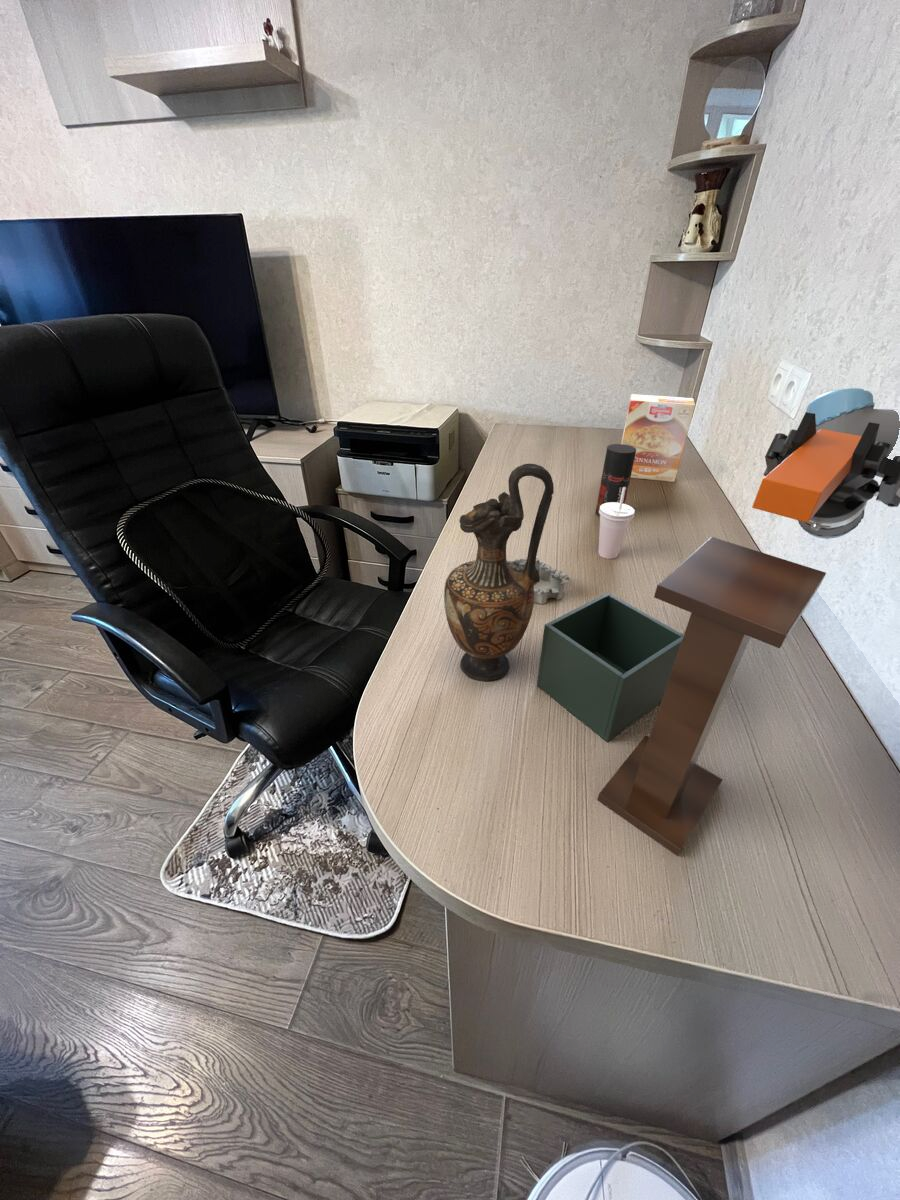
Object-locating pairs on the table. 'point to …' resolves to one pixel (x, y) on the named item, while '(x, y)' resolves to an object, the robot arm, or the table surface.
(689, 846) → the table surface
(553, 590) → the egg carton
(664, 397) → the coffeecake box
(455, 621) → the vase
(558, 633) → the trash bin
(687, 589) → the stand
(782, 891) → the table surface
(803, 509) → the block
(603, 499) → the deodorant
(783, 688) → the table surface
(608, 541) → the smoothie
